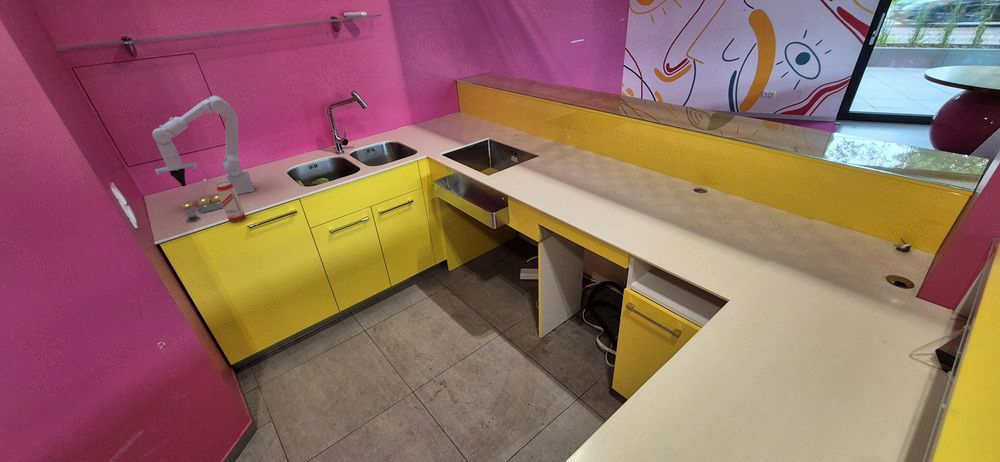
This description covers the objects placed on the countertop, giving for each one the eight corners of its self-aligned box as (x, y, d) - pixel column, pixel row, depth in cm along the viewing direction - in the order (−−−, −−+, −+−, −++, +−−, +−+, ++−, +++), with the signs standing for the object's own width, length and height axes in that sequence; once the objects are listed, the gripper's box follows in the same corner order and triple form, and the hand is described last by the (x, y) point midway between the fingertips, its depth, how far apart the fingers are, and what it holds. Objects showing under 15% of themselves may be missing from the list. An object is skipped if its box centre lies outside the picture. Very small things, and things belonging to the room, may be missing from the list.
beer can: (233, 216, 179) (219, 181, 171) (248, 215, 180) (235, 180, 172) (226, 223, 174) (211, 187, 166) (241, 221, 174) (227, 186, 166)
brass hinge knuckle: (225, 200, 193) (222, 192, 191) (225, 207, 187) (222, 199, 185) (200, 206, 189) (196, 198, 187) (199, 213, 183) (195, 205, 181)
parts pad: (198, 216, 181) (198, 215, 180) (198, 220, 177) (198, 219, 177) (186, 218, 179) (186, 218, 178) (186, 223, 175) (185, 222, 175)
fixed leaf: (225, 196, 198) (221, 188, 196) (225, 204, 190) (222, 195, 188) (200, 201, 193) (196, 193, 191) (200, 210, 186) (196, 201, 184)
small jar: (200, 215, 180) (193, 201, 177) (197, 219, 177) (190, 205, 173) (189, 217, 179) (182, 203, 176) (186, 221, 176) (179, 207, 172)
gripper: (191, 150, 186) (203, 178, 193) (151, 157, 180) (165, 186, 186) (190, 154, 181) (202, 183, 187) (149, 162, 174) (164, 191, 181)
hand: (184, 185), depth 187 cm, fingers closed
